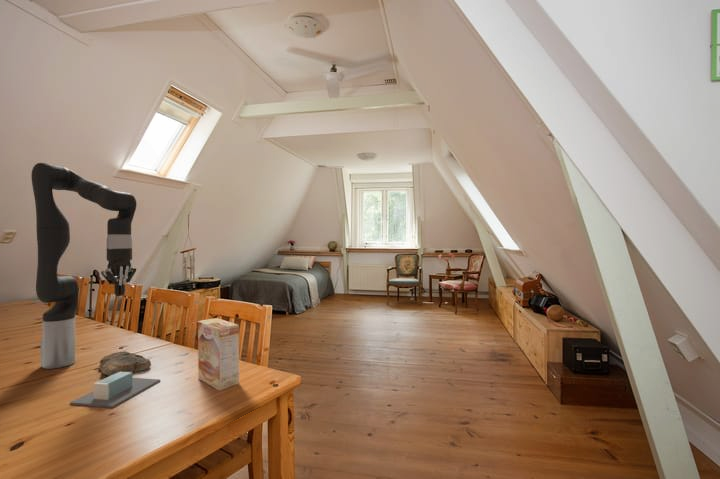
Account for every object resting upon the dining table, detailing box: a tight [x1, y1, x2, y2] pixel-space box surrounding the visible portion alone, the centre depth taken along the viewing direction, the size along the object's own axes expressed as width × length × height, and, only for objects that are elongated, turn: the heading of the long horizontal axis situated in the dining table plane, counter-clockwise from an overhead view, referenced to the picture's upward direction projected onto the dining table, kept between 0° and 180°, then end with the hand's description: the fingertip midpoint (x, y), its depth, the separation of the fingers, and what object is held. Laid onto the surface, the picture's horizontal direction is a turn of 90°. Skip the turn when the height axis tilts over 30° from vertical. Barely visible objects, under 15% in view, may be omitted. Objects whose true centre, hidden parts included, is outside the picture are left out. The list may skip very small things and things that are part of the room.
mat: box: [69, 377, 161, 409], centre depth 105 cm, size 14×18×1 cm
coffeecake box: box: [197, 317, 240, 392], centre depth 113 cm, size 15×7×20 cm, turn 49°
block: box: [93, 372, 133, 400], centre depth 103 cm, size 4×4×9 cm
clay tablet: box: [98, 350, 152, 377], centre depth 126 cm, size 14×5×20 cm
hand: (119, 295), depth 122 cm, fingers closed
